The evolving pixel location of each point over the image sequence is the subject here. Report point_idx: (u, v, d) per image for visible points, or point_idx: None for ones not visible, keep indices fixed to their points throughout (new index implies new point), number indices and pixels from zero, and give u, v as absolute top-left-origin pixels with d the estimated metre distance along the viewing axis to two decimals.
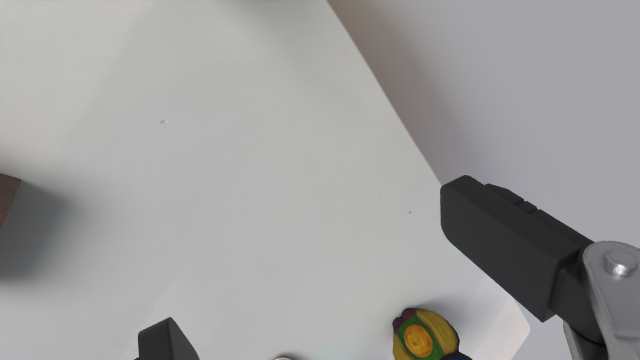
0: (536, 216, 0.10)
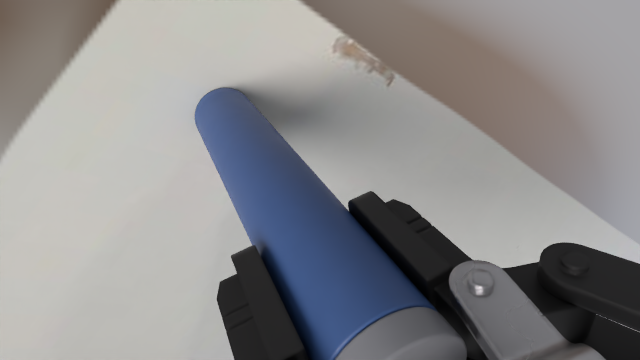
0: (427, 233, 0.10)
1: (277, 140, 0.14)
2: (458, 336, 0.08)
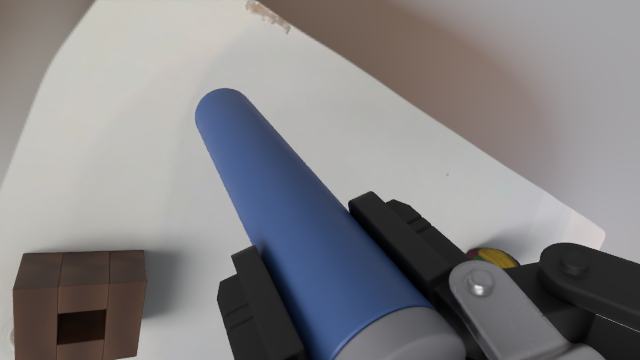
0: (427, 233, 0.10)
1: (277, 140, 0.14)
2: (457, 336, 0.08)
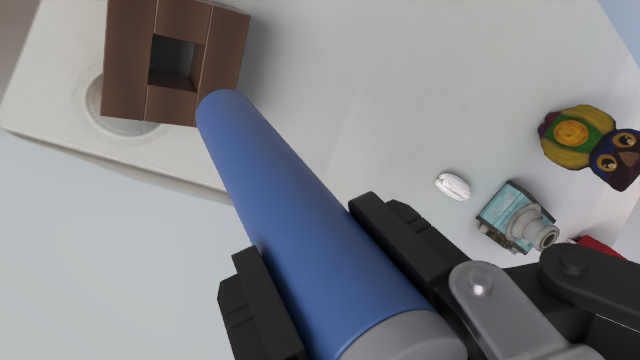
0: (427, 233, 0.10)
1: (278, 142, 0.14)
2: (459, 339, 0.08)
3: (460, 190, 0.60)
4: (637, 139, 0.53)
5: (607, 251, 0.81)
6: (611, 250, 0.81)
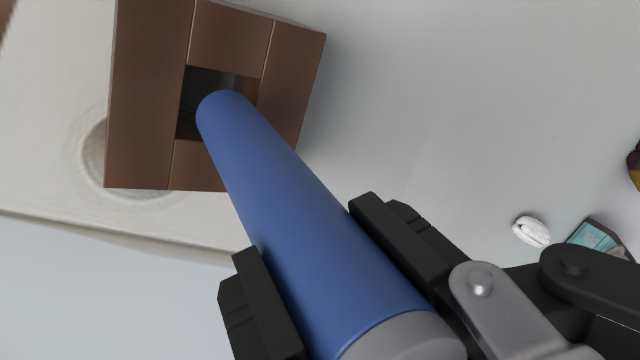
0: (427, 233, 0.10)
1: (278, 142, 0.14)
2: (459, 339, 0.08)
3: (541, 236, 0.49)
4: None
5: None
6: None
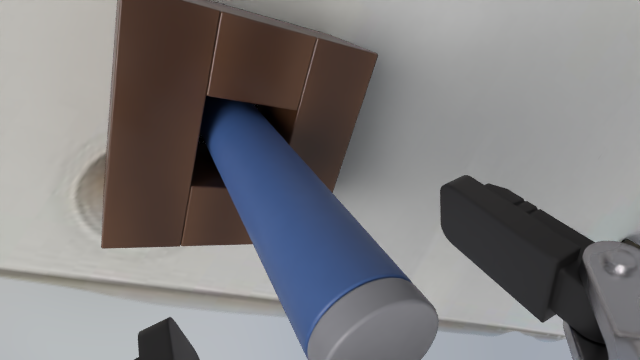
0: (536, 216, 0.10)
1: (270, 132, 0.15)
2: (429, 303, 0.08)
3: None
4: None
5: None
6: None
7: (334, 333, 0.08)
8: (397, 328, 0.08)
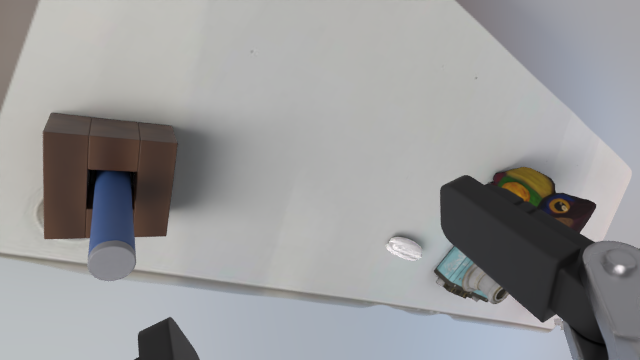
0: (536, 216, 0.10)
1: (116, 185, 0.34)
2: (125, 247, 0.27)
3: (411, 252, 0.63)
4: (570, 206, 0.56)
5: None
6: None
7: (90, 255, 0.26)
8: (113, 255, 0.27)
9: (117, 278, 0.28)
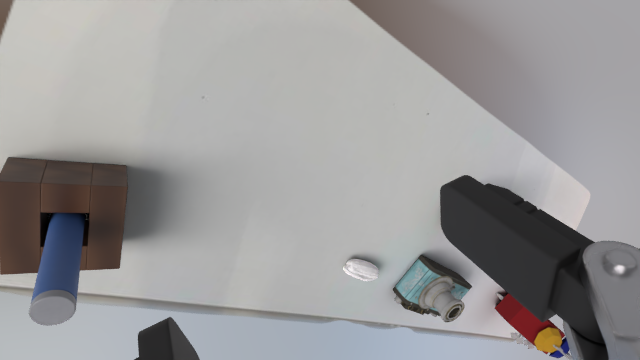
0: (536, 216, 0.10)
1: (66, 227, 0.37)
2: (64, 297, 0.30)
3: (367, 273, 0.66)
4: None
5: (526, 309, 0.87)
6: None
7: (31, 304, 0.29)
8: (53, 303, 0.30)
9: (58, 322, 0.31)
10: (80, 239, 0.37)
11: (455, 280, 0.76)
